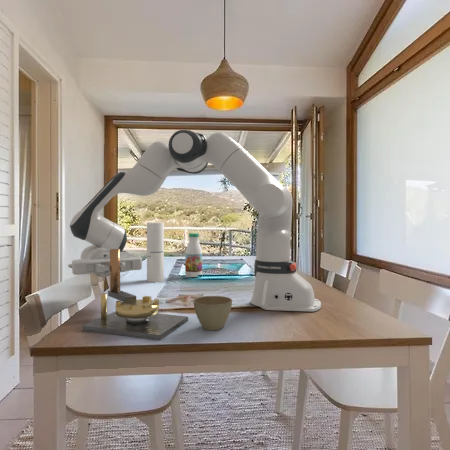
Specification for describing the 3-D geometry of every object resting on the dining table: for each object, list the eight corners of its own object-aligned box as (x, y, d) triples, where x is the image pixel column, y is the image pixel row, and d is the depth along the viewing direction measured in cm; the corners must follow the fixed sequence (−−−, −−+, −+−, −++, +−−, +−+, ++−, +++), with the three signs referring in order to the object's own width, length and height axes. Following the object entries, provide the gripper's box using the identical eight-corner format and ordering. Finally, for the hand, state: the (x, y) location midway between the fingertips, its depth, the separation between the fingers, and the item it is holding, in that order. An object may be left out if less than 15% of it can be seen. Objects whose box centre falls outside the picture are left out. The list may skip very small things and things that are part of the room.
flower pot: (231, 321, 100) (231, 295, 100) (233, 333, 90) (233, 304, 90) (194, 321, 99) (194, 295, 99) (192, 333, 89) (192, 304, 89)
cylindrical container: (160, 282, 154) (160, 222, 153) (144, 281, 155) (144, 222, 154) (166, 279, 161) (166, 222, 160) (150, 278, 162) (150, 222, 161)
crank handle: (167, 312, 95) (167, 253, 95) (128, 320, 88) (128, 256, 87) (130, 298, 110) (130, 247, 109) (94, 304, 102) (94, 250, 102)
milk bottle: (183, 275, 170) (183, 232, 169) (200, 275, 172) (200, 232, 172) (187, 278, 163) (187, 233, 162) (204, 278, 165) (204, 233, 164)
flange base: (188, 320, 100) (188, 293, 100) (160, 340, 85) (160, 307, 84) (119, 313, 107) (119, 287, 106) (82, 330, 91) (82, 300, 91)
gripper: (66, 254, 110) (75, 260, 98) (133, 250, 121) (148, 255, 109) (67, 275, 110) (75, 283, 99) (133, 269, 121) (148, 276, 110)
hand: (114, 268), depth 104 cm, fingers open, 3 cm apart
